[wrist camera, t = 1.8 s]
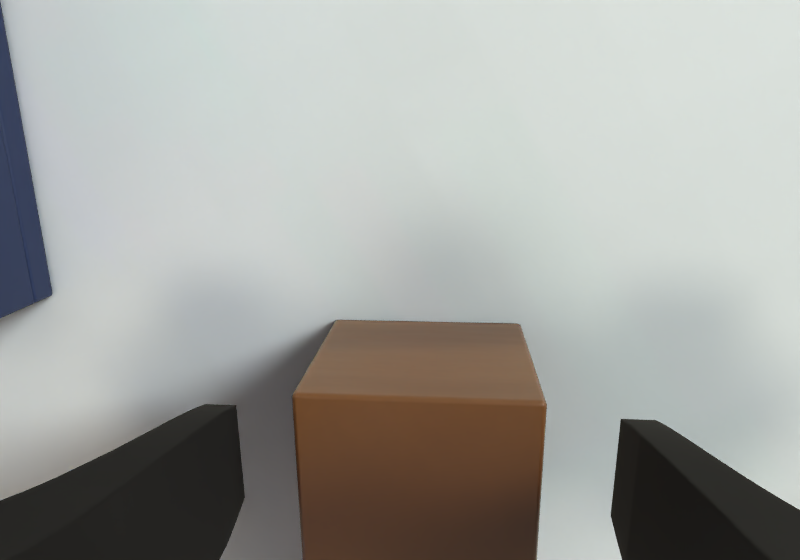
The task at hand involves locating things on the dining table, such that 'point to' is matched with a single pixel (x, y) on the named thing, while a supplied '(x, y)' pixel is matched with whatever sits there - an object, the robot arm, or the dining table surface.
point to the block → (420, 443)
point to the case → (17, 204)
